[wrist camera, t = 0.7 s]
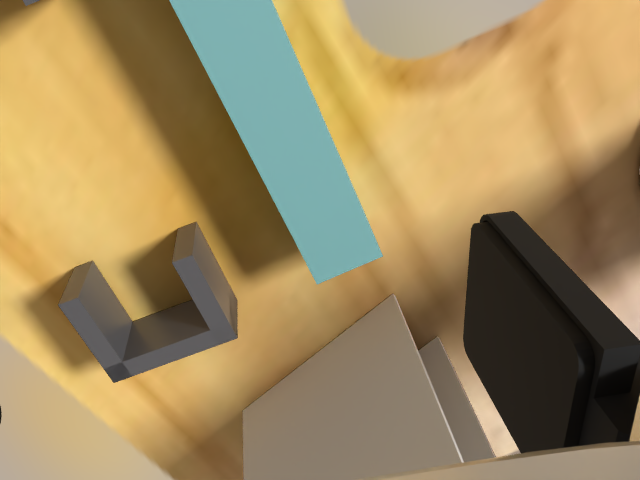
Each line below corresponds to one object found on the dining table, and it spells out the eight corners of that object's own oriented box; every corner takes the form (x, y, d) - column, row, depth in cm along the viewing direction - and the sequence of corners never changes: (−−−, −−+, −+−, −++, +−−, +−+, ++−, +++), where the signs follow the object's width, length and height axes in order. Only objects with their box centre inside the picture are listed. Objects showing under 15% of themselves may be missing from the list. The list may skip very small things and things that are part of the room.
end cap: (196, 221, 36) (192, 254, 33) (237, 300, 39) (237, 338, 36) (74, 267, 37) (57, 305, 33) (124, 341, 40) (113, 383, 36)
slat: (194, -177, 27) (187, -193, 23) (365, 216, 38) (382, 256, 34) (116, -137, 28) (93, -145, 23) (307, 241, 38) (316, 284, 34)
